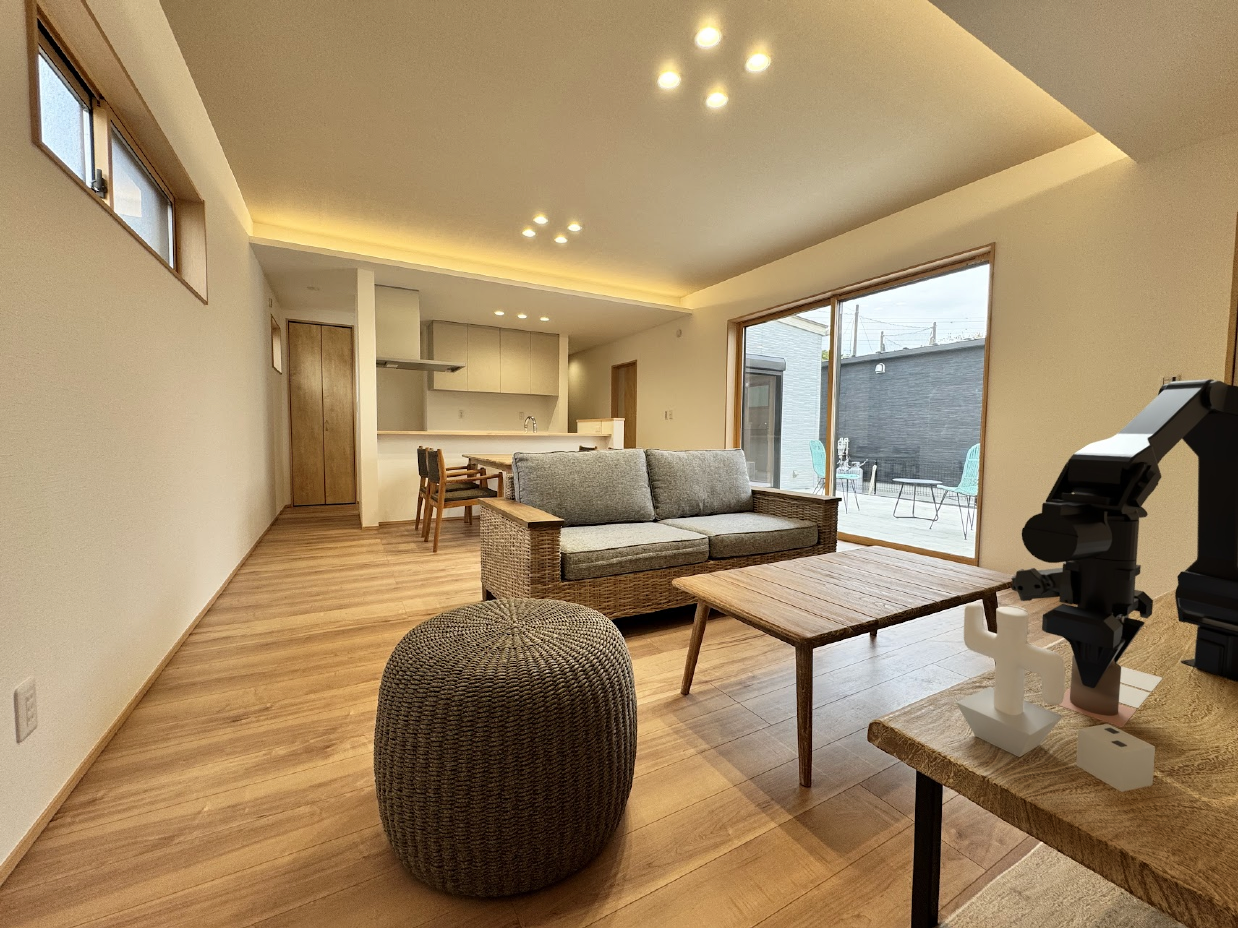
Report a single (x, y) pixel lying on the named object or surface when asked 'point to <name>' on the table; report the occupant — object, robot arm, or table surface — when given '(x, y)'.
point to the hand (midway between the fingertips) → (1095, 680)
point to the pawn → (1097, 691)
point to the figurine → (1011, 682)
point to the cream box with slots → (1115, 757)
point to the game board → (1122, 696)
